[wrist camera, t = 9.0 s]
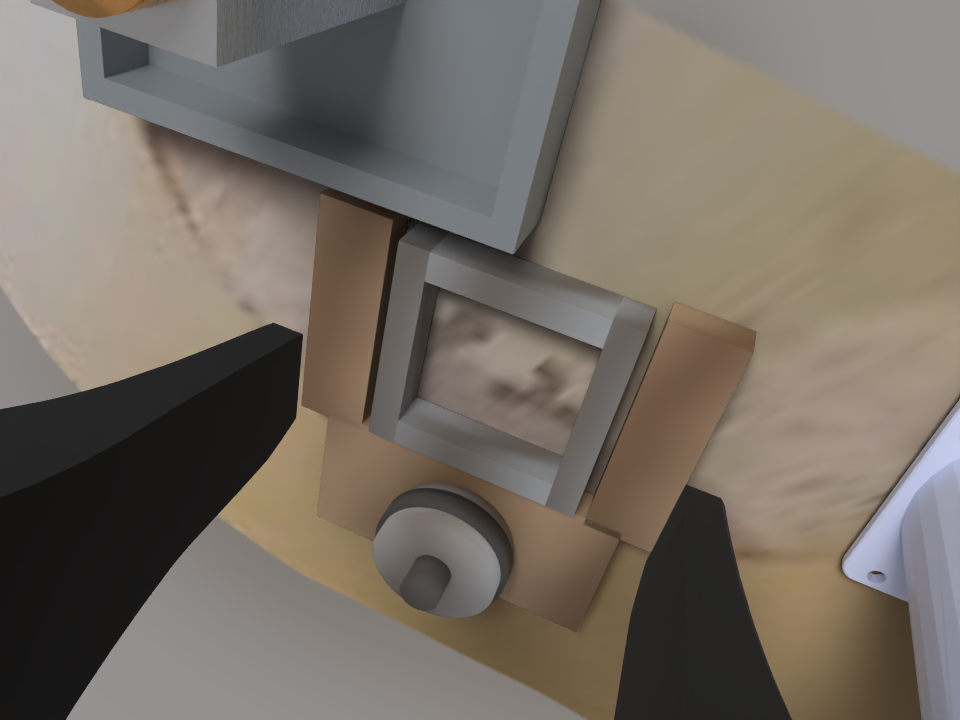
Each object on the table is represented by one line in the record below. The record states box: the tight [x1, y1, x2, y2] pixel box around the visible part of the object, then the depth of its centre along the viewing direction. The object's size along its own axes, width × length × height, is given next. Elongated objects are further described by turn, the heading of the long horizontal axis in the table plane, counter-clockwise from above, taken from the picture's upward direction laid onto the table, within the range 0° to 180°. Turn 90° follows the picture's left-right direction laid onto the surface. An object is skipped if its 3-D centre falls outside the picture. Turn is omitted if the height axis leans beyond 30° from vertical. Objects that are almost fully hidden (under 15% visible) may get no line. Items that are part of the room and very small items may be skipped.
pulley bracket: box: [301, 187, 756, 632], centre depth 26 cm, size 13×14×4 cm
